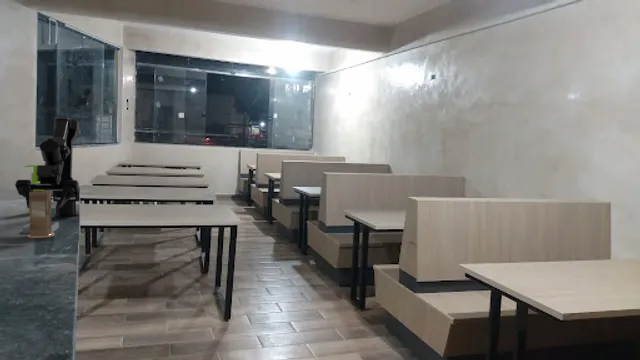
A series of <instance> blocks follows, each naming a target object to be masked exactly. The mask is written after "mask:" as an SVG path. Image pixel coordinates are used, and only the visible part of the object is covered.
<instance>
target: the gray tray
mask: <svg viewBox="0 0 640 360" xmlns="http://www.w3.org/2000/svg"><path fill="white" fill-rule="evenodd" d="M59 228H60V226H59V221H52V232H53V233H54V232H55V231H56V230H57V229H59ZM22 234H30V222H29V223H28V224H25V225H24V226H22Z"/></svg>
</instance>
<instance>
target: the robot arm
mask: <svg viewBox="0 0 640 360" xmlns="http://www.w3.org/2000/svg"><path fill="white" fill-rule="evenodd" d="M53 130H54V132H53V135H52V137H51V138H47V140H45V141H42V142H41V143H40V144H39V150H40V153H41V157H42V160H43V162H44V164H43V165H42V164H41V165H39V164H37V165H38V166H37V173H36V175H38V181H40V183H31V179H17V180H16V181H15V184H14V186H15V189H16V191H17V193H18V195H19V196H22V197H23V198H25V202H26V207H27V209H28V208H30V203H29V192H32V191H33V190H45V191H51V192H52V196H53V198H52V199H53V202H54V203H55V202H56V205H55V214H54V217H55V216H56V217H59V218H60V217H61V218H69V217H76V216H79V214H78V213H77V202H80V200H81V198H80V193H81V188H80V184H79V181H78V180H76V179H74V178H73V175H72V174H73V143H74V141H75V140H76V138H77V137H78V132H80V124H79V121H77V120H75V119H72V118H69V117H56V118H55V119H54V121H53Z"/></svg>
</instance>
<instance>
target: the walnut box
mask: <svg viewBox="0 0 640 360" xmlns="http://www.w3.org/2000/svg"><path fill="white" fill-rule="evenodd" d="M29 203H30V214H29V223H30V233H29V234H30V236H47V235H49V234H50V233H52V222H53V221H52V191H51V190H45V191H32V192H29Z"/></svg>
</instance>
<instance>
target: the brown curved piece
mask: <svg viewBox="0 0 640 360" xmlns="http://www.w3.org/2000/svg"><path fill="white" fill-rule="evenodd" d="M54 236H55V232H54V231H53V232H52V233H50V234H49V235H47V236H30V233H27V238H31V239H42V238H51V237H54Z"/></svg>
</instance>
